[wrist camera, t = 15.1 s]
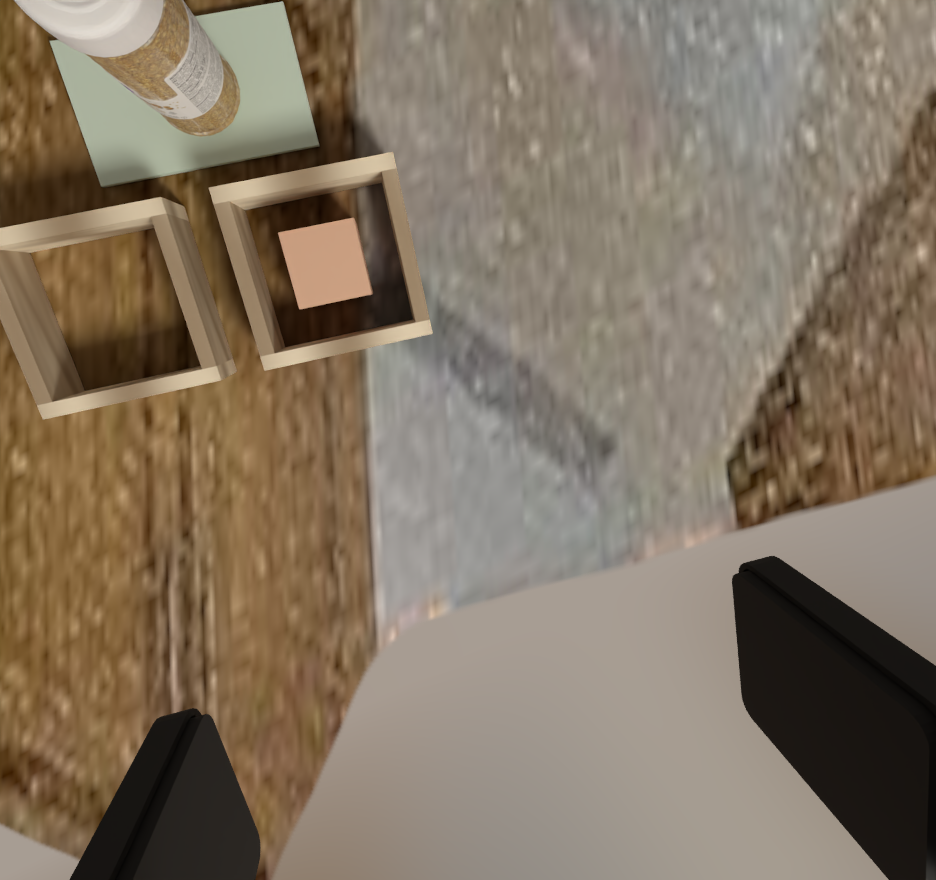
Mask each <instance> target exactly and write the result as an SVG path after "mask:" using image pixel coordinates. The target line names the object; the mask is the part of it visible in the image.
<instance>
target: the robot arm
mask: <svg viewBox="0 0 936 880" xmlns="http://www.w3.org/2000/svg"><path fill="white" fill-rule="evenodd" d="M732 586H733V598H734V609H735V622H736V634H737V644H738V657H739V669H740V681H741V693H742V699H743V702H744V705H745V708H746V710H747V711H748V713H749V715H750V717H751V718H752V719H753V720H754V722H755V723H756V724H757V725H758V726H759V727H760V729H761V730H762V731H763V732H764V733H765V735H766V736H767V737H768V738H769V739H770V740H771V742H772V743H773V744H774V745H775V746H776V748H777V749H778V750H779V751H780V752H781V753H782V755H783V756H784V757H785V758H786V759H787V760H788V762H789V763H790V764H791V765H792V766H793V768H794V769H795V770H796V771H797V772H798V773H799V775H800V776H801V777H802V778H803V779H804V780H805V782H806V783H807V784H808V785H809V786H810V787H811V789H812V790H813V791H814V792H815V793H816V795H817V796H818V797H819V798H820V799H821V800H822V802H823V803H824V804H825V805H826V806H827V807H828V809H829V810H830V811H831V812H832V813H833V815H834V816H835V817H836V818H837V819H838V820H839V822H840V823H841V824H842V825H843V826H844V827H845V829H846V830H847V831H848V832H849V833H850V835H851V836H852V837H853V838H854V839H855V840H856V841H857V843H858V844H859V845H860V846H861V847H862V849H863V850H864V851H865V852H866V853H867V855H868V856H869V857H870V858H871V859H872V860H873V862H874V863H875V864H876V865H877V866H878V867H879V869H880V870H881V871H882V872H883V873H884V875H885V876H886V877H887V878H888V879H889V880H936V666H935V665H934V664H932V663H931V662H929V661H928V660H926V659H925V658H924V657H922V656H920V655H919V654H918V653H916V652H915V651H913V650H912V649H910V648H909V647H908V646H906V645H905V644H903V643H902V642H900V641H898V640H897V639H896V638H894V637H893V636H891V635H890V634H889V633H887V632H886V631H884V630H883V629H881V628H880V627H878V626H877V625H875V624H874V623H872V622H871V621H869V620H868V619H867V618H865V617H864V616H862V615H861V614H859V613H858V612H856V611H855V610H854V609H852V608H851V607H849V606H848V605H846V604H845V603H843V602H842V601H841V600H839V599H838V598H836V597H834V596H833V595H832V594H830V593H829V592H827V591H826V590H825V589H823V588H822V587H820V586H819V585H817V584H816V583H814V582H813V581H811V580H810V579H808V578H807V577H806V576H804V575H803V574H801V573H800V572H798V571H797V570H795V569H794V568H792V567H791V566H790V565H788V564H787V563H785V562H784V561H782V560H781V559H779V558H777V557H775V556H769V557H765V558H762V559H758V560H754V561H750V562H746V563H743V564H742V565H741V566H740V568H739V573H738V574H735V575H734V576H733V578H732ZM259 859H260V839H259V834H258V831H257V828H256V826H255V823H254V821H253V818H252V816H251V813H250V811H249V808H248V806H247V803H246V801H245V798H244V796H243V793H242V791H241V788H240V786H239V783H238V781H237V778H236V776H235V773H234V771H233V768H232V766H231V763H230V761H229V758H228V756H227V753H226V751H225V748H224V746H223V743H222V741H221V738H220V736H219V733H218V731H217V728H216V726H215V723H214V721H213V719H212V717H211V716H210V715H208V714H205V715H201V713H200V712H199V711H198V710H197V709H194V708H192V709H188V710H185V711H181V712H177V713H173V714H169V715H166V716H162V717H159V718H158V719H156V721H155V722H154V723H153V725H152V727H151V729H150V731H149V733H148V734H147V736H146V738H145V740H144V742H143V744H142V746H141V748H140V749H139V751H138V753H137V755H136V757H135V759H134V761H133V762H132V764H131V766H130V768H129V770H128V772H127V774H126V776H125V777H124V779H123V781H122V783H121V785H120V787H119V789H118V790H117V792H116V794H115V796H114V798H113V800H112V802H111V804H110V805H109V807H108V809H107V811H106V813H105V815H104V817H103V818H102V820H101V822H100V824H99V826H98V828H97V830H96V832H95V833H94V835H93V837H92V839H91V841H90V843H89V845H88V846H87V848H86V850H85V852H84V854H83V856H82V858H81V859H80V861H79V863H78V865H77V867H76V869H75V871H74V873H73V874H72V876H71V878H70V880H255V878H256V873H257V869H258V864H259Z"/></svg>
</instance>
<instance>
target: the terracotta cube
mask: <svg viewBox="0 0 936 880" xmlns="http://www.w3.org/2000/svg"><path fill="white" fill-rule="evenodd" d="M278 235H279V238H280V242H281V245H282V249H283V253H284V256H285V260H286V263H287V267H288V271H289V274H290V278H291V281H292V285H293V289H294V292H295V296H296V299H297V303H298V307H299V310H300V309H305V308H309V307H314V306H319V305H324V304H328V303H333V302H338V301H343V300H347V299H352V298H357V297H362V296H366V295H371V294H373V289H372V285H371V281H370V277H369V273H368V269H367V264H366V260H365V256H364V252H363V248H362V244H361V239H360V235H359V231H358V227H357V224H356V222H355V220H354V218H349V219H344V220H339V221H334V222H329V223H324V224H319V225H314V226H309V227H304V228H299V229H294V230H289V231H284V232H279V233H278Z"/></svg>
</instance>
